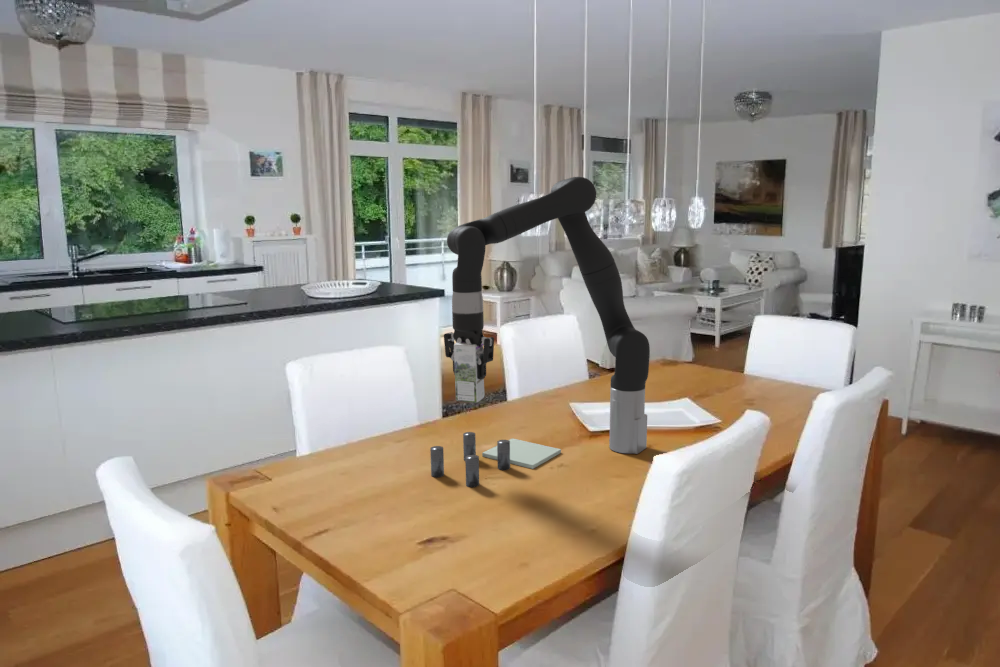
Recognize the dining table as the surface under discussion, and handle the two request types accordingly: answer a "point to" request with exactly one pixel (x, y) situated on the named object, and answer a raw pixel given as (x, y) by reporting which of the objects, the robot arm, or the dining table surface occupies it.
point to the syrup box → (467, 373)
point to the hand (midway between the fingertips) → (469, 376)
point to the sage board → (525, 453)
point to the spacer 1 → (437, 461)
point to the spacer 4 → (503, 454)
